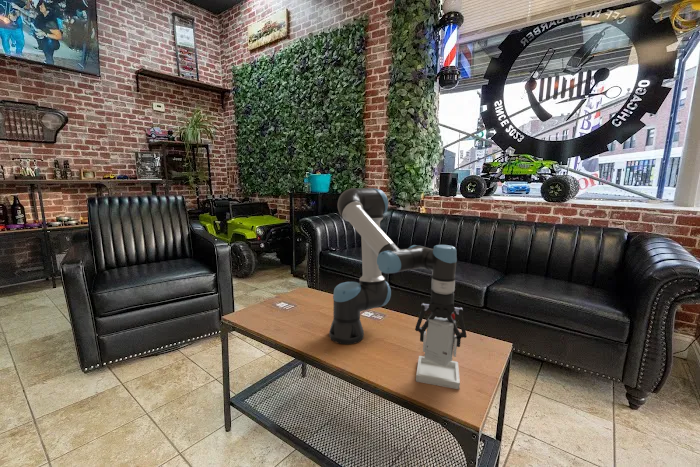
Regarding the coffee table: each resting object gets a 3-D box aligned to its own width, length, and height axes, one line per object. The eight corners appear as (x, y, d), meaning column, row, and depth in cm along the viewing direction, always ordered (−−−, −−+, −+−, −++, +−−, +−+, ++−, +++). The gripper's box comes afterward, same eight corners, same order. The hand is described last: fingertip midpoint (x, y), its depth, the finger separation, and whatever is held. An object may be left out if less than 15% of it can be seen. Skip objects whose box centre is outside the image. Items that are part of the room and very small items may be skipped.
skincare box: (424, 358, 109) (425, 318, 107) (431, 352, 113) (433, 313, 111) (447, 367, 103) (449, 325, 101) (454, 360, 108) (456, 319, 106)
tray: (415, 381, 105) (416, 375, 105) (418, 361, 118) (419, 355, 117) (459, 389, 101) (459, 383, 101) (457, 367, 114) (457, 361, 113)
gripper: (408, 290, 104) (405, 352, 108) (479, 298, 98) (474, 363, 101) (410, 284, 112) (408, 342, 115) (476, 290, 105) (472, 352, 109)
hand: (439, 352), depth 108 cm, fingers closed on skincare box, 10 cm apart
